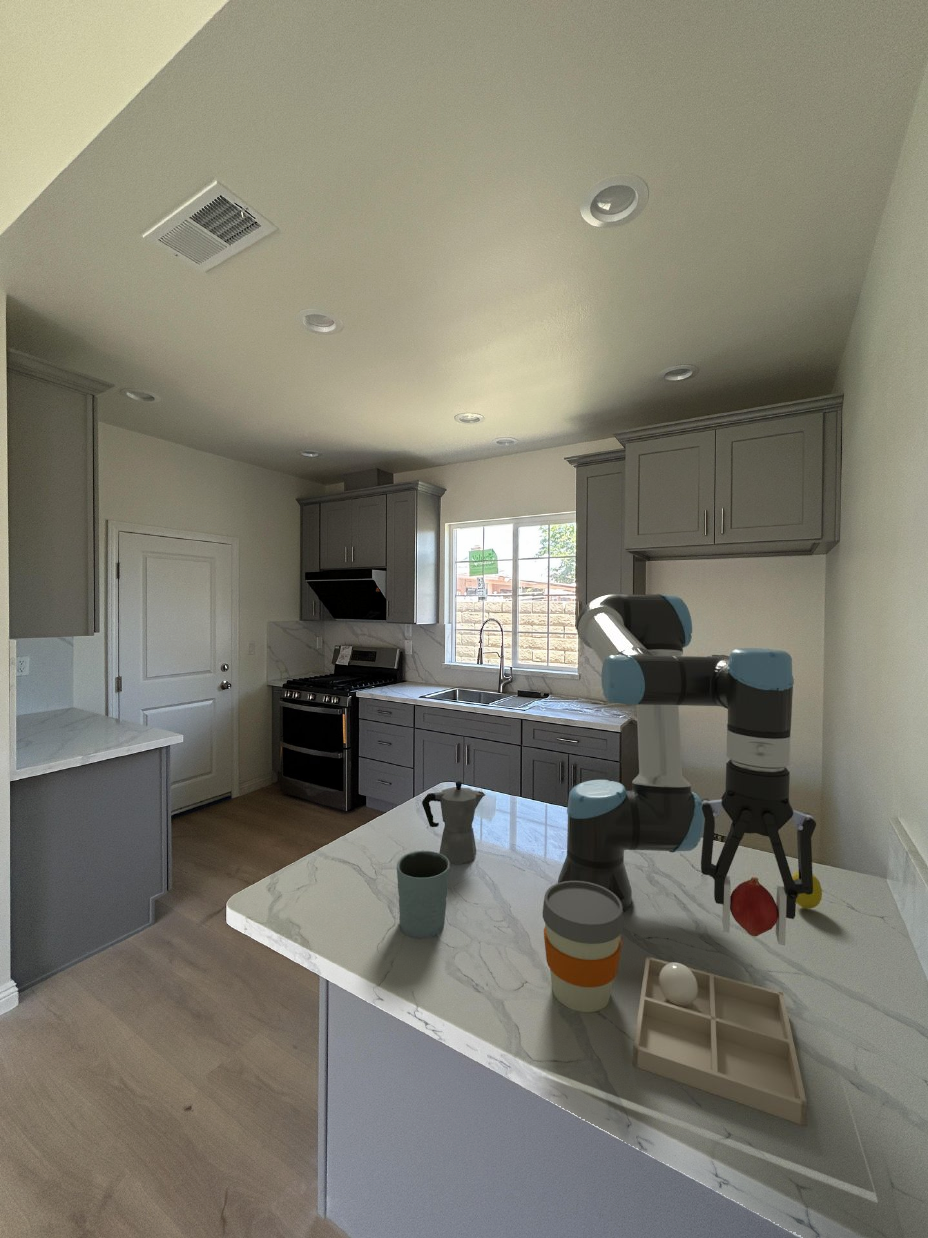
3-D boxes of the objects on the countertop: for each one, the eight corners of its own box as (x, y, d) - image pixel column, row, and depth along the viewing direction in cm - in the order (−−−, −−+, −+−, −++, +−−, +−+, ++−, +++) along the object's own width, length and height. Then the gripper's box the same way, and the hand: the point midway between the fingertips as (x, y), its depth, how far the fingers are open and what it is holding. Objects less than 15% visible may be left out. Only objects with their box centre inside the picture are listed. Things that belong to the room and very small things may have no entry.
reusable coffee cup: (619, 972, 90) (621, 885, 89) (624, 1032, 78) (627, 931, 77) (544, 960, 93) (545, 875, 92) (537, 1015, 80) (539, 918, 80)
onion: (720, 923, 75) (721, 867, 75) (758, 921, 76) (760, 865, 76) (745, 949, 70) (746, 888, 69) (787, 947, 70) (788, 887, 70)
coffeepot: (479, 843, 135) (480, 773, 135) (489, 862, 126) (490, 786, 125) (418, 849, 132) (419, 777, 131) (424, 868, 123) (425, 791, 122)
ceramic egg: (657, 1008, 82) (658, 972, 81) (659, 984, 87) (660, 950, 86) (697, 1020, 79) (698, 984, 79) (697, 994, 84) (698, 960, 84)
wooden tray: (632, 1069, 72) (633, 1047, 71) (645, 973, 90) (646, 956, 90) (806, 1130, 64) (807, 1106, 64) (782, 1011, 82) (783, 993, 82)
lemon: (826, 919, 106) (827, 879, 105) (795, 915, 107) (796, 876, 106) (813, 903, 111) (815, 865, 111) (784, 899, 112) (786, 862, 112)
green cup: (425, 903, 109) (426, 845, 109) (460, 925, 102) (461, 864, 101) (385, 924, 102) (385, 862, 102) (419, 949, 95) (419, 883, 94)
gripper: (681, 762, 72) (677, 930, 73) (848, 782, 65) (842, 969, 66) (682, 748, 79) (678, 903, 80) (833, 765, 72) (828, 935, 73)
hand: (752, 932), depth 73 cm, fingers closed on onion, 6 cm apart
